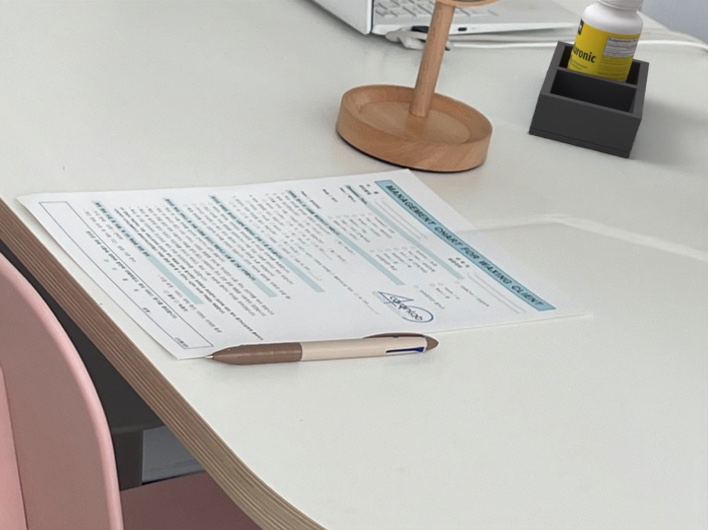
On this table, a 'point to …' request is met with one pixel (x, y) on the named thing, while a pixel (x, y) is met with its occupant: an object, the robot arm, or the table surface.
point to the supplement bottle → (607, 39)
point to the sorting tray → (590, 106)
